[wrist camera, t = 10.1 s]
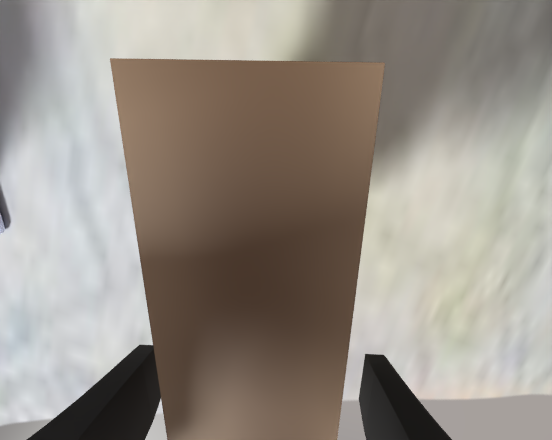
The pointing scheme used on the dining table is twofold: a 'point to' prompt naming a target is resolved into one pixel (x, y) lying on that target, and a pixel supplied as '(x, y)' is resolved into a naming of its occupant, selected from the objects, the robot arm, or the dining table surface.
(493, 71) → the dining table surface
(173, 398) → the walnut block
